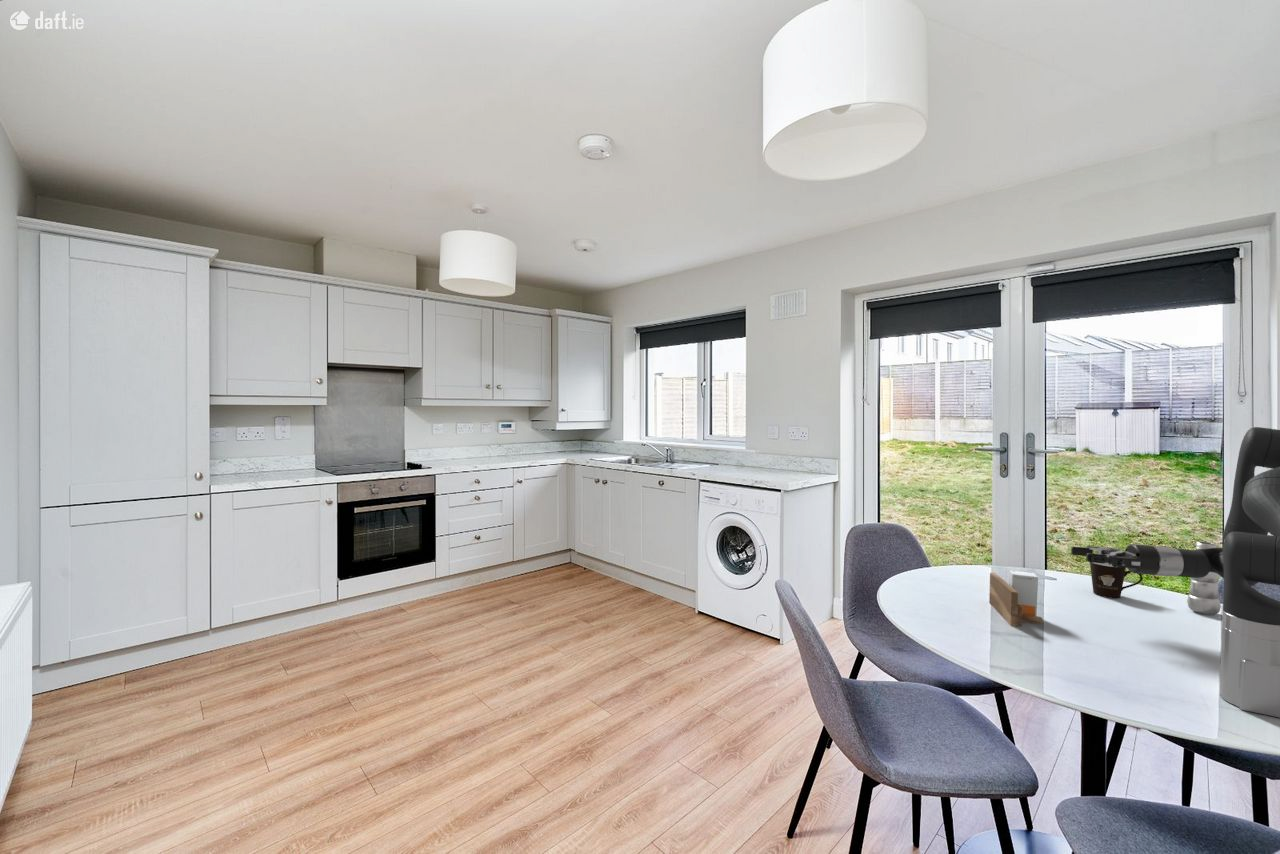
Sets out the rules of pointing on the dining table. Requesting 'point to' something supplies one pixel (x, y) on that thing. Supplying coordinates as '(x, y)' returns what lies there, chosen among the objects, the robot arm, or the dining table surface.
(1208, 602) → the plastic bottle
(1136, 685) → the dining table surface
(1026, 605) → the skincare box
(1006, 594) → the wooden stand
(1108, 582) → the coffee mug
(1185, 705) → the dining table surface
